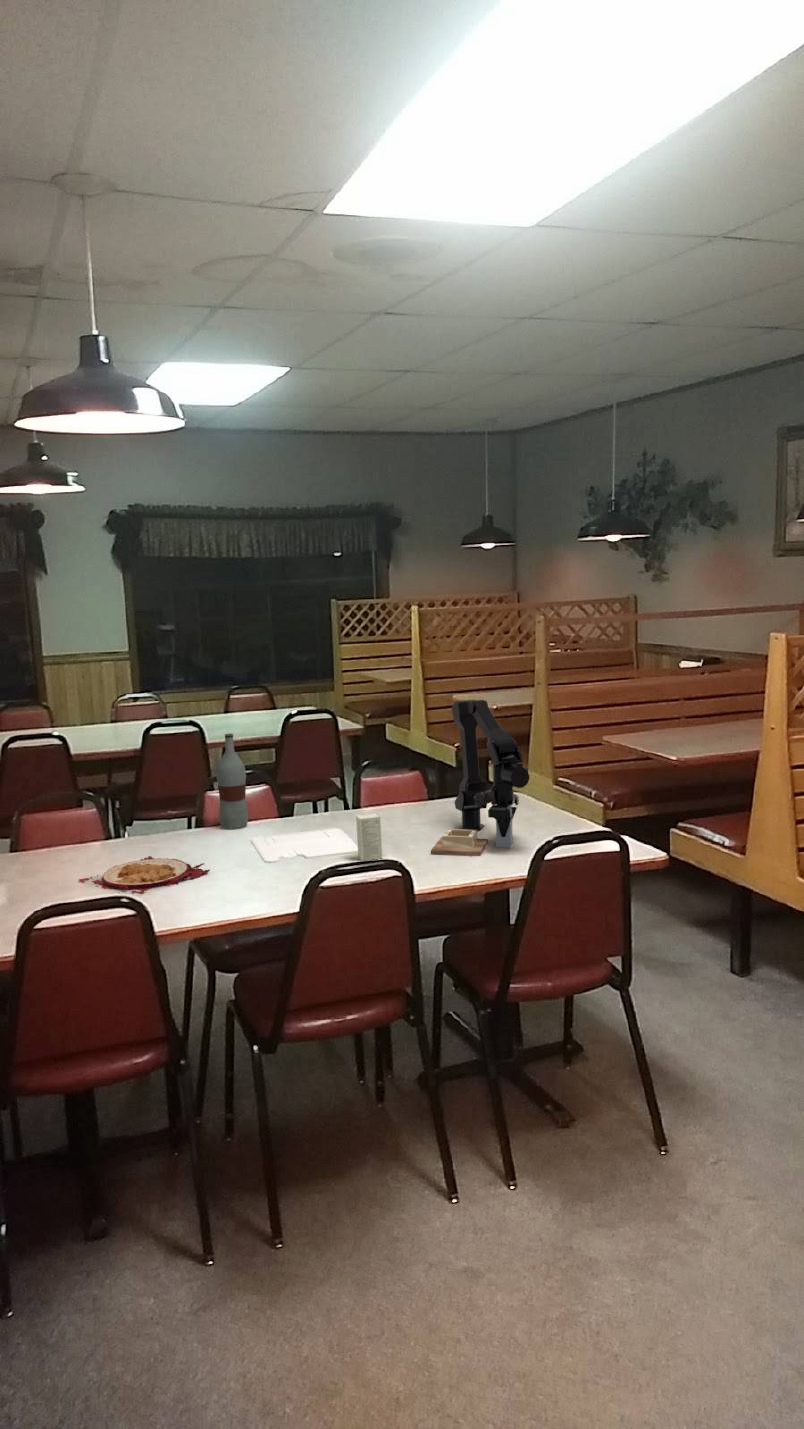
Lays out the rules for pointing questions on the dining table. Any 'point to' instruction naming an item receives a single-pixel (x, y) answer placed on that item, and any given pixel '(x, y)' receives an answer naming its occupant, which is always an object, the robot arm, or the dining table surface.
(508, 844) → the peg
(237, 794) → the bottle
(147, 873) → the plate with food
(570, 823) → the dining table surface
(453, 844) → the socket block
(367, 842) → the skincare box
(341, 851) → the tray
